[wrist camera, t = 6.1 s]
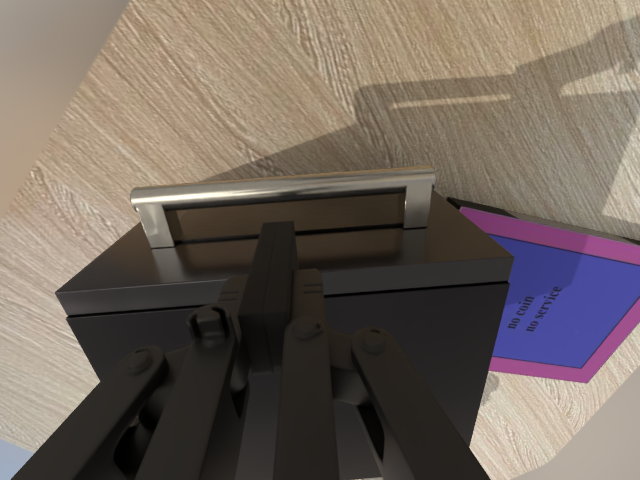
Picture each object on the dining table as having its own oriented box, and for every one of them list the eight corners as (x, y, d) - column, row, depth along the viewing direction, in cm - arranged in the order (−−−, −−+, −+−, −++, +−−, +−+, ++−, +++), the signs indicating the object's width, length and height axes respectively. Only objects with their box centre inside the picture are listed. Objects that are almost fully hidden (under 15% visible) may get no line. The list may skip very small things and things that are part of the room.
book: (587, 383, 44) (392, 358, 39) (570, 366, 47) (386, 341, 42) (694, 258, 35) (461, 206, 31) (666, 246, 38) (448, 197, 33)
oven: (184, 204, 32) (65, 318, 16) (409, 187, 33) (510, 283, 16) (220, 333, 40) (163, 495, 24) (400, 319, 41) (463, 470, 24)
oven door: (168, 150, 30) (15, 225, 14) (414, 132, 30) (534, 185, 14) (183, 203, 32) (67, 316, 16) (410, 185, 32) (509, 281, 17)
